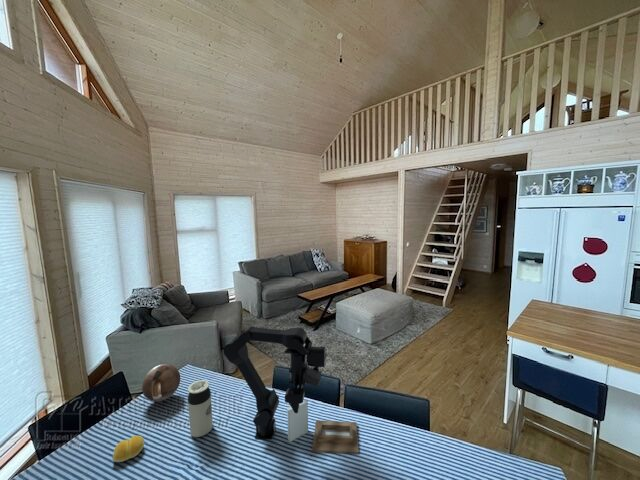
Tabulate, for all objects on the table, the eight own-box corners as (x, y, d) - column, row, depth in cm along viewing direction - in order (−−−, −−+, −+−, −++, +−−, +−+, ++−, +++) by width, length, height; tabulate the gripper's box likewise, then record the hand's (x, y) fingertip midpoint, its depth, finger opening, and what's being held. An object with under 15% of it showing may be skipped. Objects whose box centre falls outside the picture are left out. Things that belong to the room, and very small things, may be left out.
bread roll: (144, 453, 91) (142, 443, 91) (112, 467, 87) (110, 457, 86) (145, 436, 98) (144, 426, 98) (115, 448, 94) (114, 438, 93)
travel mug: (185, 434, 100) (182, 390, 98) (202, 419, 107) (199, 377, 106) (201, 440, 97) (198, 395, 95) (217, 424, 104) (214, 382, 103)
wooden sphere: (159, 386, 129) (156, 357, 127) (188, 387, 127) (186, 358, 126) (135, 408, 114) (132, 376, 112) (167, 410, 112) (164, 377, 111)
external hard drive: (308, 431, 100) (308, 401, 99) (289, 442, 95) (288, 410, 94) (306, 429, 101) (305, 399, 100) (287, 439, 97) (286, 408, 96)
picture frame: (312, 452, 91) (312, 444, 91) (316, 422, 104) (315, 415, 104) (358, 454, 90) (358, 446, 90) (356, 424, 103) (356, 417, 102)
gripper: (317, 381, 86) (317, 425, 87) (321, 351, 104) (321, 388, 106) (284, 379, 87) (284, 423, 88) (294, 350, 105) (294, 386, 107)
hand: (298, 403), depth 97 cm, fingers open, 9 cm apart
